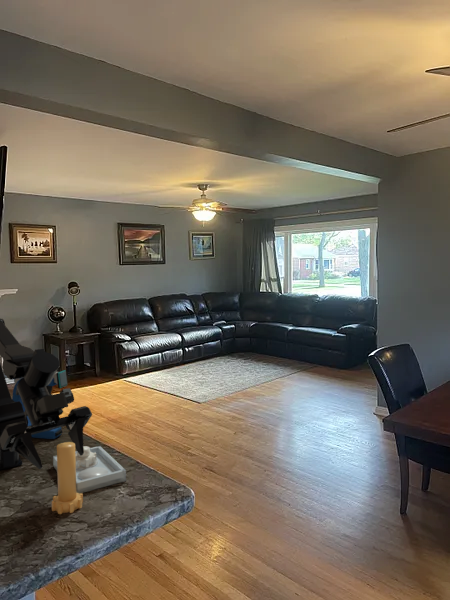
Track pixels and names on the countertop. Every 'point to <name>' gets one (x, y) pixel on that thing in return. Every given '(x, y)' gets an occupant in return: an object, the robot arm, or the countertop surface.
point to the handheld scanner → (57, 379)
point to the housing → (95, 469)
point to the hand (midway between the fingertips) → (62, 461)
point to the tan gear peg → (66, 480)
